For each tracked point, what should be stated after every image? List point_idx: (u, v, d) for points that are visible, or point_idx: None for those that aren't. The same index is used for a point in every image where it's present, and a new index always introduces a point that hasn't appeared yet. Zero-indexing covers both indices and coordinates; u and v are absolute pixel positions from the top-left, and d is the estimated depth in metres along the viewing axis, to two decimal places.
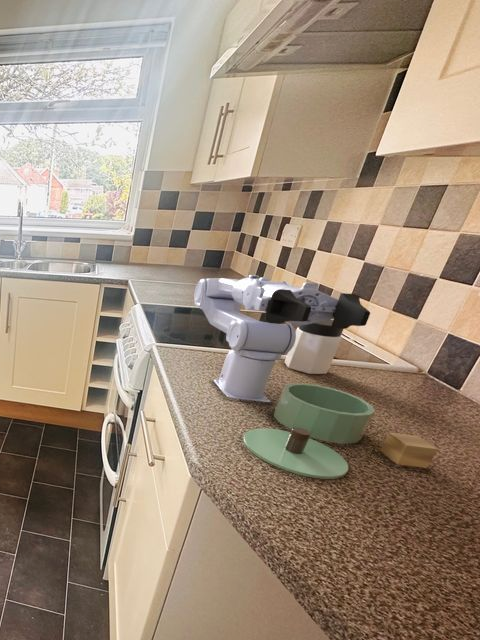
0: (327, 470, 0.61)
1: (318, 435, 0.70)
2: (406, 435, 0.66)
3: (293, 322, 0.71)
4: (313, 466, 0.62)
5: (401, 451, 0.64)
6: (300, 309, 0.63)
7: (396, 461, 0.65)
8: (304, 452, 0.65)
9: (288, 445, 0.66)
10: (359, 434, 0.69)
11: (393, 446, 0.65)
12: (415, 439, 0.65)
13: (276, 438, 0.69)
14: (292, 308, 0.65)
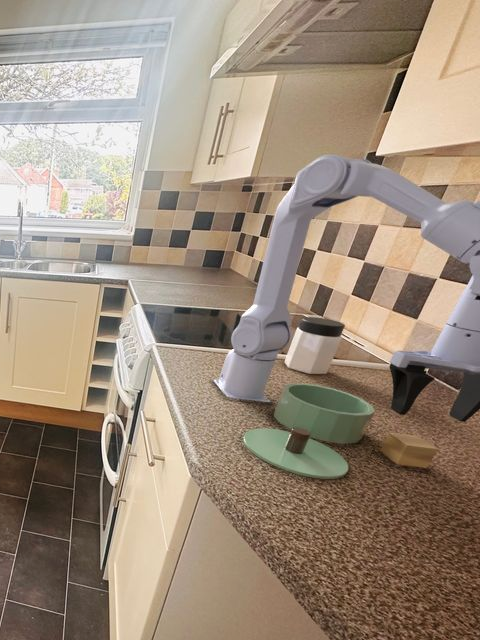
0: (327, 470, 0.61)
1: (318, 435, 0.70)
2: (406, 435, 0.66)
3: None
4: (313, 466, 0.62)
5: (401, 451, 0.64)
6: (399, 406, 0.62)
7: (396, 461, 0.65)
8: (304, 452, 0.65)
9: (288, 445, 0.66)
10: (359, 434, 0.69)
11: (393, 446, 0.65)
12: (415, 439, 0.65)
13: (276, 438, 0.69)
14: (405, 393, 0.62)
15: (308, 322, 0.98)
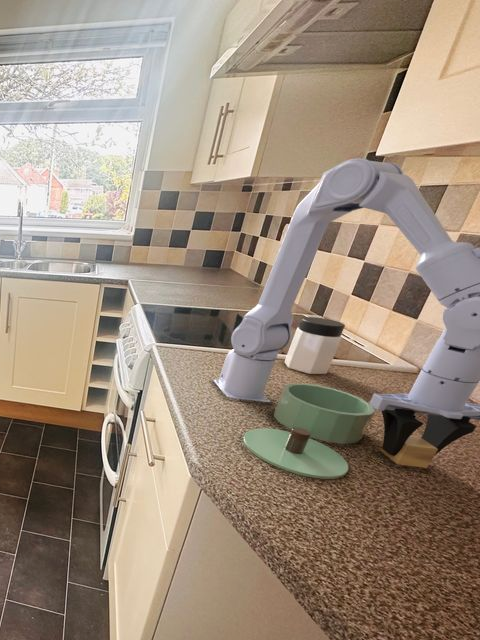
0: (327, 470, 0.61)
1: (318, 435, 0.70)
2: None
3: None
4: (313, 466, 0.62)
5: (401, 451, 0.64)
6: (390, 447, 0.65)
7: (396, 461, 0.65)
8: (304, 452, 0.65)
9: (288, 445, 0.66)
10: (359, 434, 0.69)
11: None
12: (415, 439, 0.65)
13: (276, 438, 0.69)
14: (395, 435, 0.64)
15: (308, 322, 0.98)
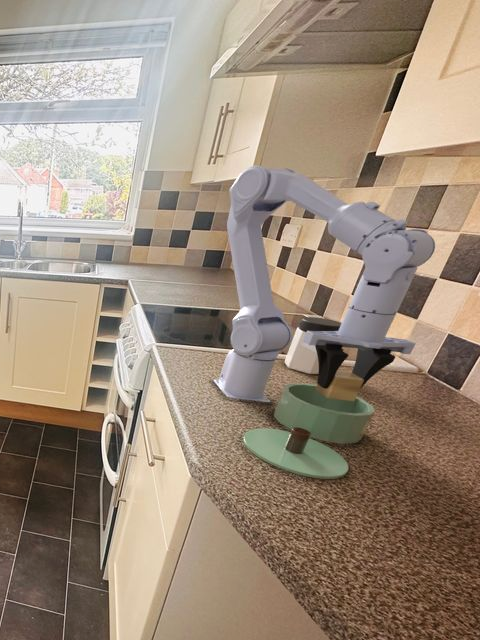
0: (327, 470, 0.61)
1: (318, 435, 0.70)
2: (338, 370, 0.72)
3: None
4: (313, 466, 0.62)
5: (332, 384, 0.70)
6: (323, 380, 0.71)
7: (328, 393, 0.71)
8: (304, 452, 0.65)
9: (288, 445, 0.66)
10: (359, 434, 0.69)
11: None
12: (346, 373, 0.71)
13: (276, 438, 0.69)
14: (327, 369, 0.71)
15: (308, 322, 0.98)
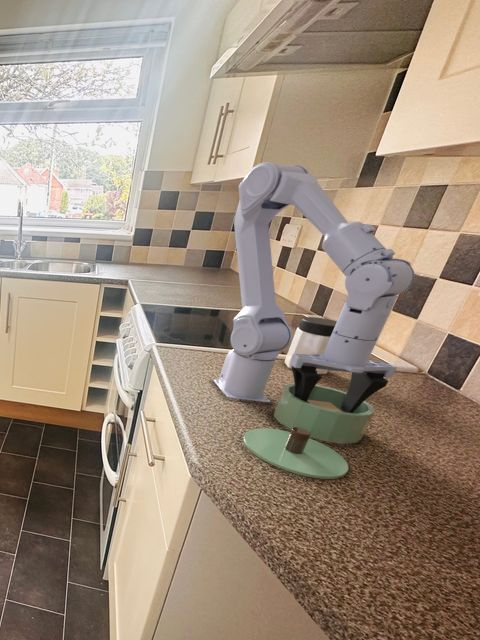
0: (327, 470, 0.61)
1: (318, 435, 0.70)
2: (319, 402, 0.75)
3: None
4: (313, 466, 0.62)
5: None
6: None
7: None
8: (304, 452, 0.65)
9: (288, 445, 0.66)
10: (359, 434, 0.69)
11: None
12: (326, 405, 0.74)
13: (276, 438, 0.69)
14: (302, 389, 0.73)
15: (308, 322, 0.98)
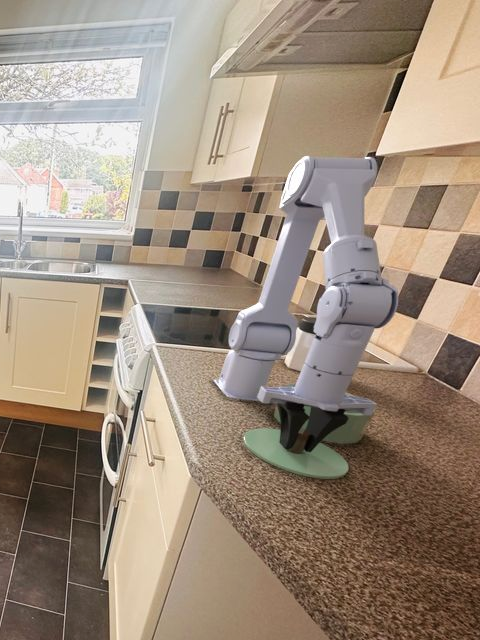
0: (327, 470, 0.61)
1: None
2: None
3: None
4: (313, 466, 0.62)
5: None
6: (285, 440, 0.65)
7: None
8: (304, 452, 0.65)
9: None
10: (359, 434, 0.69)
11: None
12: None
13: (276, 438, 0.69)
14: (289, 428, 0.65)
15: (308, 322, 0.98)
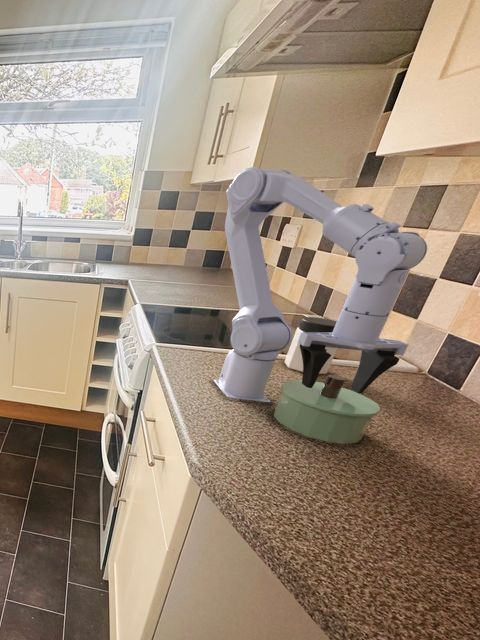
0: (361, 410, 0.68)
1: (318, 435, 0.70)
2: None
3: None
4: (348, 407, 0.69)
5: None
6: (307, 380, 0.72)
7: None
8: (338, 397, 0.72)
9: (324, 391, 0.72)
10: (359, 434, 0.69)
11: None
12: None
13: None
14: (311, 368, 0.72)
15: (308, 322, 0.98)
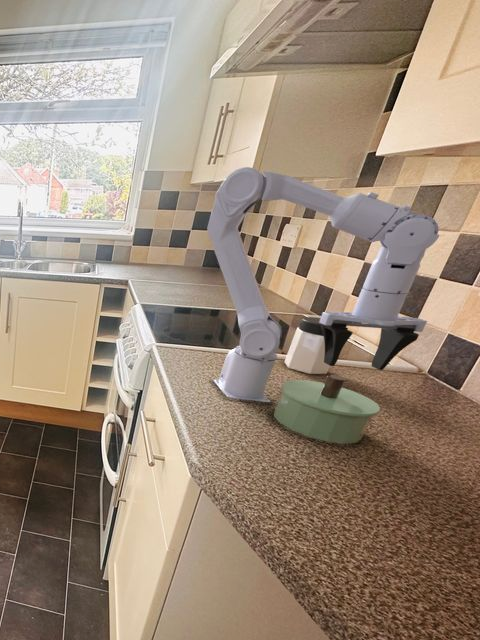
0: (361, 410, 0.68)
1: (318, 435, 0.70)
2: None
3: None
4: (348, 407, 0.69)
5: None
6: (329, 358, 0.75)
7: None
8: (338, 397, 0.72)
9: (324, 391, 0.72)
10: (359, 434, 0.69)
11: None
12: None
13: (311, 387, 0.76)
14: (333, 347, 0.75)
15: (308, 322, 0.98)
